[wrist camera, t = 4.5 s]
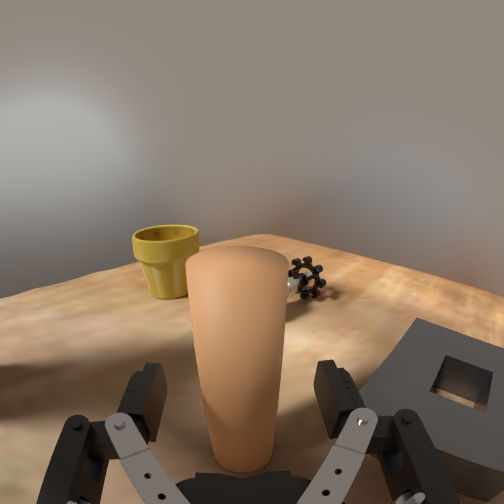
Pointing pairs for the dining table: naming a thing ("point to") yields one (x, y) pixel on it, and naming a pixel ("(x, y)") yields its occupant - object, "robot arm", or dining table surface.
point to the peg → (239, 348)
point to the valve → (305, 278)
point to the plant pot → (166, 257)
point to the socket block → (449, 401)
